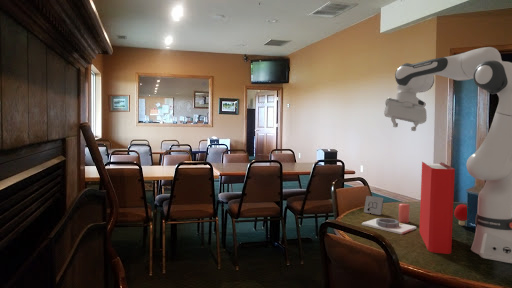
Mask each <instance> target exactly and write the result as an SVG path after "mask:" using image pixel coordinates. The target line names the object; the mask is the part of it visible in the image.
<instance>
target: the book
mask: <svg viewBox="0 0 512 288" xmlns="http://www.w3.org/2000/svg"><path fill="white" fill-rule="evenodd" d="M455 170H456V169H455V168H454V167H452V166H450V165H448V164H446V163H444V162H443V161H441V162H439V163H430V162H429V163H425V162H424V161H421V175H420V176H421V182H420V206H419V207H420V209H419V235H420V236H421V239H422V241H423V244H424V245H425V247H426V249H427V251H428V252H430V253H436V254H445V255H449V254H452V245H453V238H452V237H453V220H454V199H455V198H454V197H455V196H454V195H455V176H456V175H455V174H456V173H455Z"/></svg>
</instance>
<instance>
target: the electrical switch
mask: <svg viewBox="0 0 512 288" xmlns="http://www.w3.org/2000/svg"><path fill="white" fill-rule="evenodd" d="M383 206H384V198H383V197H379V196H373V195H371V196H370V195H366V197H365V202H364V209H363V212H364V213H365V214H370V213H371V215H376V216H381V215H382V214H383Z"/></svg>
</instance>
